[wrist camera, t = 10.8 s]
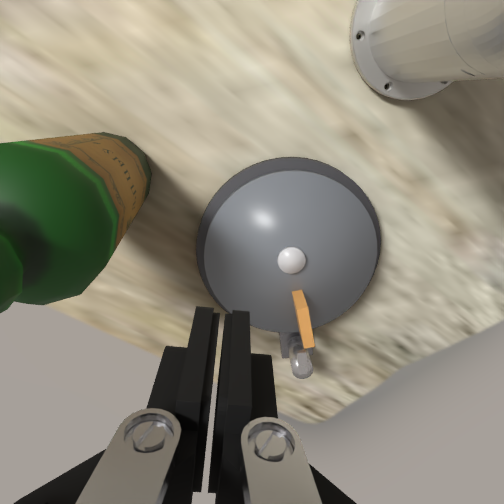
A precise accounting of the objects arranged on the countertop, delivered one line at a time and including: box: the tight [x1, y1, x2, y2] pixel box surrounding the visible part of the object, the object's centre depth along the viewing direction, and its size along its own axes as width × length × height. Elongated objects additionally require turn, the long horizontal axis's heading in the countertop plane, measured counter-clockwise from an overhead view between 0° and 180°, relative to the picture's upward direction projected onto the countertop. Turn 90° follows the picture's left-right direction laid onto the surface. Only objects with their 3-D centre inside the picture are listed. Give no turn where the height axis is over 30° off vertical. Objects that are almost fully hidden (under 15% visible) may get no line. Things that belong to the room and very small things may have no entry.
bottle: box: [0, 132, 152, 313], centre depth 29 cm, size 11×11×28 cm
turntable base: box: [196, 157, 381, 314], centre depth 45 cm, size 21×21×2 cm
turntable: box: [204, 169, 377, 349], centre depth 42 cm, size 19×19×6 cm
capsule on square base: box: [279, 332, 313, 379], centre depth 48 cm, size 5×4×6 cm
